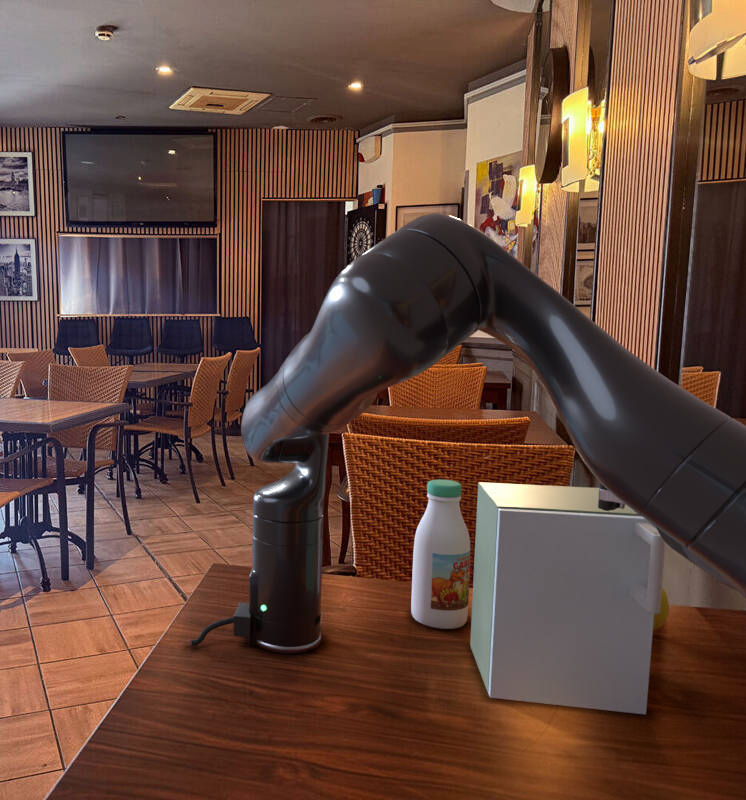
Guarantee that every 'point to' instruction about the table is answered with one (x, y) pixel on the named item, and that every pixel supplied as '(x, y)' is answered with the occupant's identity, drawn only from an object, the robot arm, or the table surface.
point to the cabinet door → (574, 608)
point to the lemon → (661, 611)
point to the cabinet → (486, 538)
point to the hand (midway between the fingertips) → (637, 474)
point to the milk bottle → (441, 560)
